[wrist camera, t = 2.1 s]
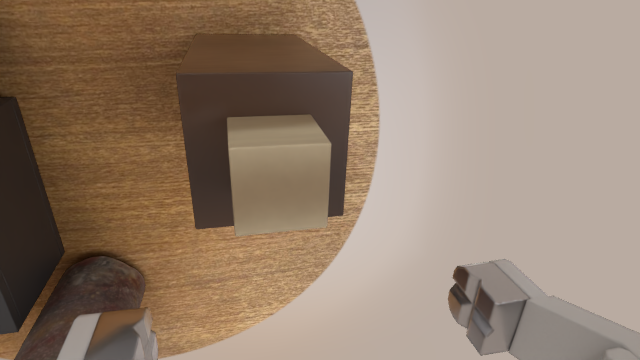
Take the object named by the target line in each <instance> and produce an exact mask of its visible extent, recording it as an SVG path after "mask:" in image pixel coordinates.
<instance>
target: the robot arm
mask: <svg viewBox="0 0 640 360" xmlns="http://www.w3.org/2000/svg"><path fill="white" fill-rule="evenodd" d="M453 279H454V280H455V282H456V283H455V285H454V286H453V287H452V288H451V289H450V291H449V297H448V301H449V308H450V311H451V313H452V315H453V317H454V319H455V320H456V322H457V323H458V324H460V325H461V326H463V327H465V328H467V337H468V339H469V340H470V341H471V343H472V344H473V346H474V347H475V348H476V350H477V351H478V352H479V354H480V355H487V354H493V353H500V352H506V351H509V353H510V354H511V355H513V356H514V357H516V358H517V359H519V360H640V333H638V332H636V331H633V330H631V329H628V328H626V327H624V326H622V325H619V324H617V323H615V322H613V321H610V320H608V319H606V318H603V317H601V316H599V315H596V314H594V313H592V312H589V311H587V310H585V309H582V308H580V307H578V306H576V305H573V304H571V303H569V302H567V301H564V300H562V299H560V298H557V297H555V296H547V295H546V294H545V293H544V292H543V291H542V290H541V289H540V288H539V287H538V286H537V285H536V284H534V283H533V282H532V281H531V280H530V279H529V278H528V277H527V276H526V275H525V274H524V273H523V272H522V271H521V270H519V269H518V268H517V267H516V266H515V265H514V264H513V263H512V262H511V261H509V260H506V259H502V260H496V261H489V262H483V263H476V264H469V265H462V266H457V268H456V269H455V270H454V274H453ZM152 321H153V318H152V314H151V310H150V308H148V307H145V308H136V309H127V310H118V311H109V312H103V313H95V314H85V315H79V316H78V317H77V318H76V319H75V320H74V322H73V324H72V326H71V328H70V331H69V333H68V335H67V337H66V340H65V342H64V344H63V346H62V349H61V351H60V353H59V355H58V358H57V360H158V344H157V337H156V333H155V332H154V331H152V330H151V326H152Z"/></svg>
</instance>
